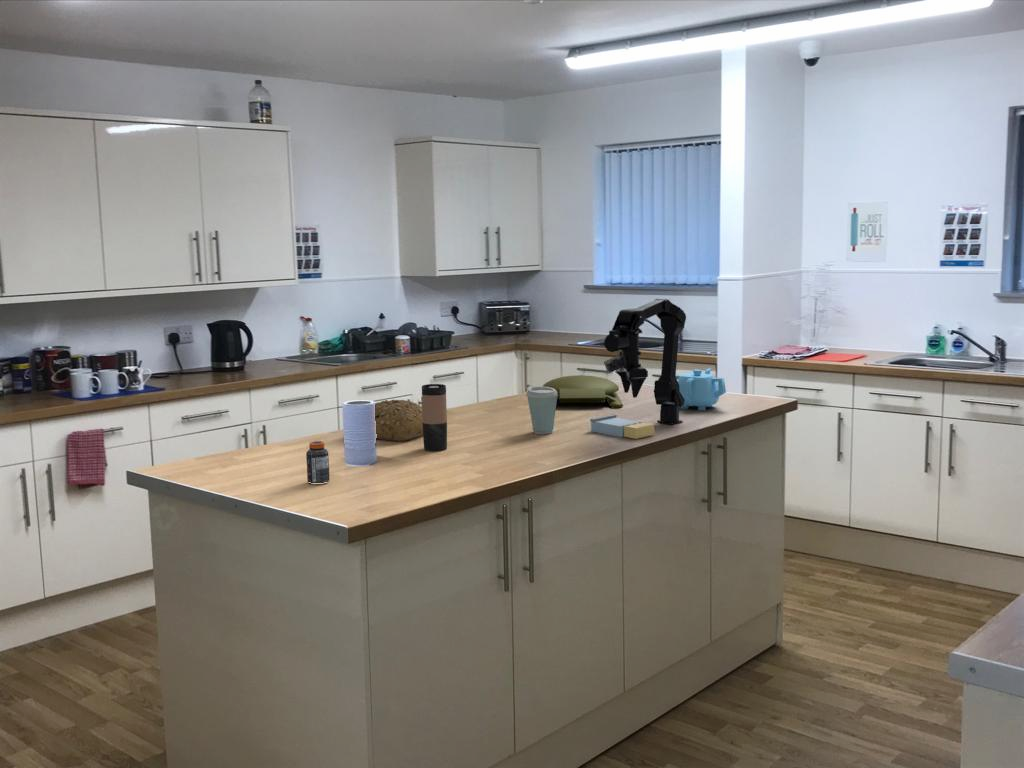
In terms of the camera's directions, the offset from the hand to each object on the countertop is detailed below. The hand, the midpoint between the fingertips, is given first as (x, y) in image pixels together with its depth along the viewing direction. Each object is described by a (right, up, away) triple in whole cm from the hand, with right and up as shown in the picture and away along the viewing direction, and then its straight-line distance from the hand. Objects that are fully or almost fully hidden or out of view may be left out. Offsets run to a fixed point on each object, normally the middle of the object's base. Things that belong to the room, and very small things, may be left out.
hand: (630, 395), depth 330 cm
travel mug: (-63, -17, -18) cm, 68 cm away
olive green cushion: (-12, -4, +64) cm, 66 cm away
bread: (-79, -14, +4) cm, 80 cm away
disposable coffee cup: (-29, -13, +5) cm, 32 cm away
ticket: (-4, -12, +4) cm, 14 cm away
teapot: (+31, -5, +48) cm, 58 cm away
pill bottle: (-92, -24, -57) cm, 111 cm away
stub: (+2, -14, -3) cm, 14 cm away
